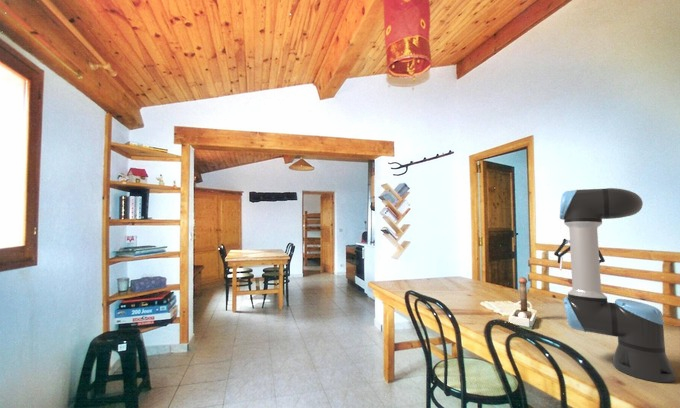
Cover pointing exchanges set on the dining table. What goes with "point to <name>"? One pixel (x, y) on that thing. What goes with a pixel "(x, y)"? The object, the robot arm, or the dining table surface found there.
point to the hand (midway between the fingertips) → (577, 272)
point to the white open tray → (522, 320)
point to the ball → (522, 315)
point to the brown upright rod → (523, 298)
